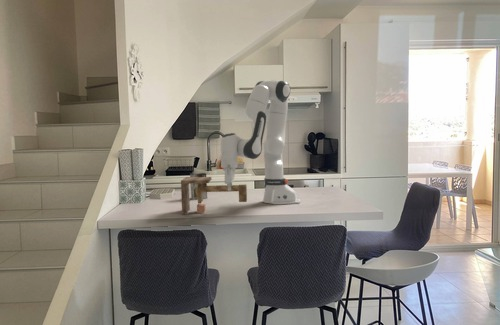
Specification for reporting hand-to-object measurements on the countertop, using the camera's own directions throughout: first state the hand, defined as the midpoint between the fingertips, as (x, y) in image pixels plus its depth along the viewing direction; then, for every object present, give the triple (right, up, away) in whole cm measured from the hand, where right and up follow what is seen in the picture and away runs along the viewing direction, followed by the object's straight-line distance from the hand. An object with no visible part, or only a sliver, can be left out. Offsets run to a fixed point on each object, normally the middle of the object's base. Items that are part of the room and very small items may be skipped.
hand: (229, 189), depth 215 cm
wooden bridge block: (-4, -6, +1) cm, 7 cm away
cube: (-15, -12, +2) cm, 20 cm away
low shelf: (-17, -12, +2) cm, 21 cm away
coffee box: (-22, -9, +44) cm, 50 cm away
